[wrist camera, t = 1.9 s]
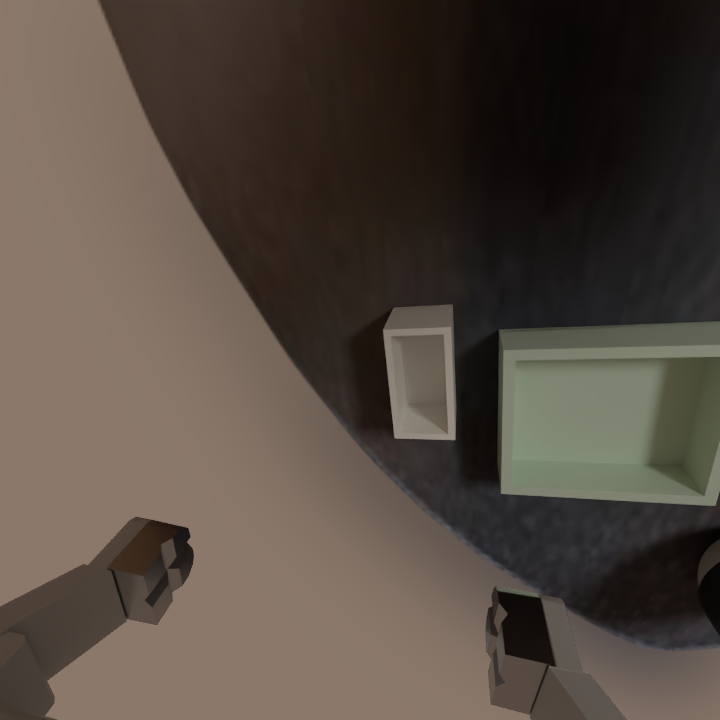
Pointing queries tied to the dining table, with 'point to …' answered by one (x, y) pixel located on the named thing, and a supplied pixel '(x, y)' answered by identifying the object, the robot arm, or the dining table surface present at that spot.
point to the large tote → (611, 412)
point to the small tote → (421, 371)
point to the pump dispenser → (710, 584)
